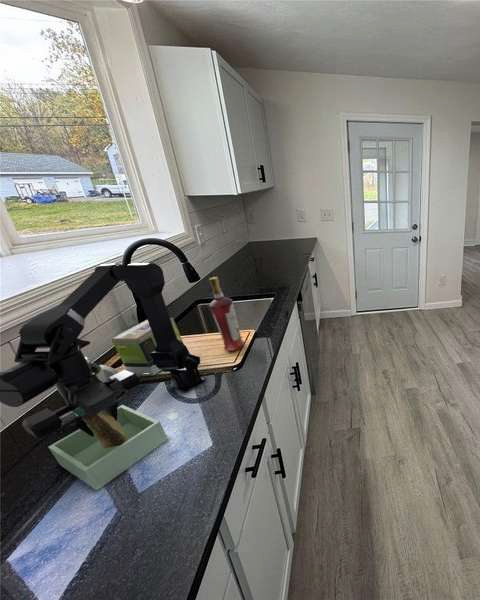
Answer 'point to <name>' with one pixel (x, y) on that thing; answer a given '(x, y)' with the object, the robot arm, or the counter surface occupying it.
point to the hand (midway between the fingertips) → (104, 428)
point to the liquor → (225, 318)
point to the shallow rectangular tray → (109, 449)
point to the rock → (106, 429)
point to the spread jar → (101, 371)
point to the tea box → (139, 348)
